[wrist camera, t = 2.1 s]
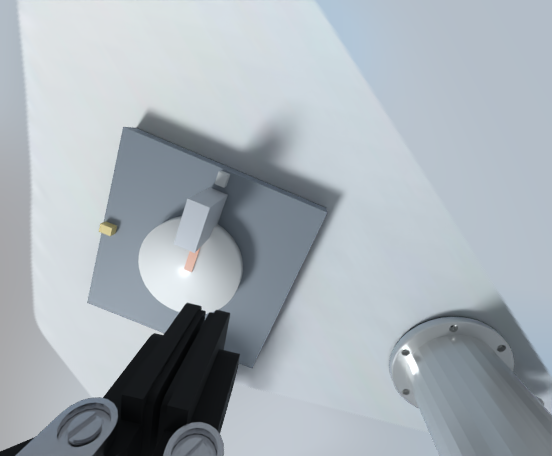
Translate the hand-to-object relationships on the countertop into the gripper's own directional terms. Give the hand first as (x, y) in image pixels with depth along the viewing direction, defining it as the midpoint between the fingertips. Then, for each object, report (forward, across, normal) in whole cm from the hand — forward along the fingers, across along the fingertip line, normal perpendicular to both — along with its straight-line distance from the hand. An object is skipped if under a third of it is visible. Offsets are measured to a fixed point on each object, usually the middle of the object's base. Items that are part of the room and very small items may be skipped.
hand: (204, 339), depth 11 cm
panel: (+19, +6, +6) cm, 21 cm away
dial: (+17, +6, +5) cm, 18 cm away
